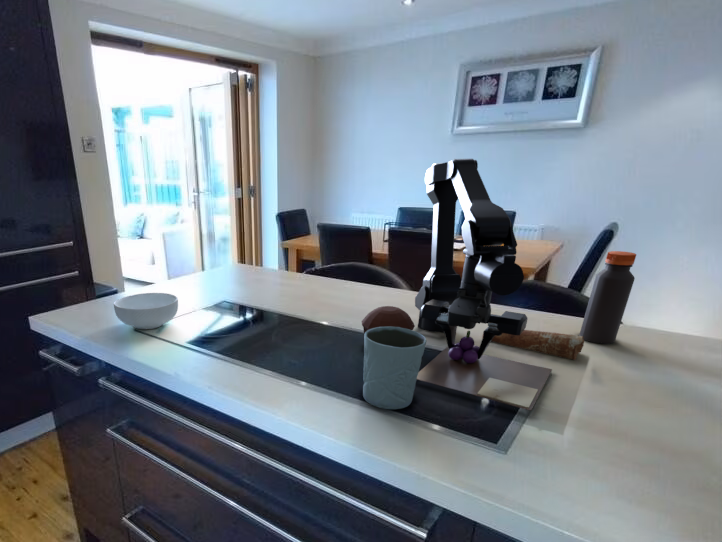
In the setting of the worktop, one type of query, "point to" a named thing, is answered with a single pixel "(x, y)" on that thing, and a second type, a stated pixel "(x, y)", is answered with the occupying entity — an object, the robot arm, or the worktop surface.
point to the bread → (544, 342)
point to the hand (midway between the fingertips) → (464, 355)
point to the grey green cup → (391, 366)
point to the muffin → (387, 318)
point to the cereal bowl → (146, 309)
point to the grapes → (465, 350)
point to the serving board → (488, 378)
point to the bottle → (608, 298)
